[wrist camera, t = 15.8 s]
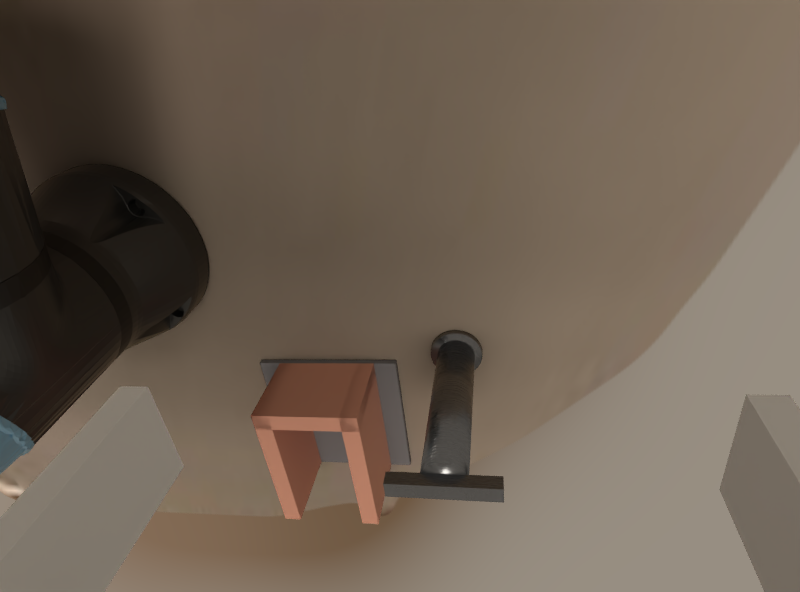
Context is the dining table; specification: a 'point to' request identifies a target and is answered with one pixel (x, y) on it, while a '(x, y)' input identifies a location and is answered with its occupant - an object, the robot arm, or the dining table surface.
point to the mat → (391, 406)
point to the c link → (323, 411)
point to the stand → (449, 431)
